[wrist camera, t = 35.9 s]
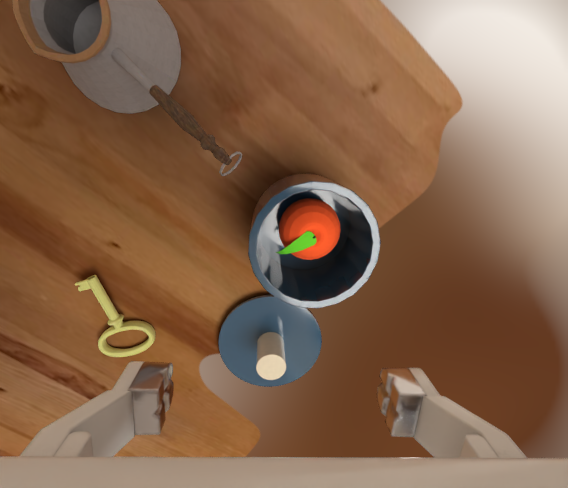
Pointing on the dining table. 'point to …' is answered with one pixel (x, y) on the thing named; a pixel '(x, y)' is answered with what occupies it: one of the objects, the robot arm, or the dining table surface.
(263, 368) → the lid
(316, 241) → the clementine
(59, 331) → the dining table surface
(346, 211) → the canister
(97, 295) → the key
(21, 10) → the coffee pot
